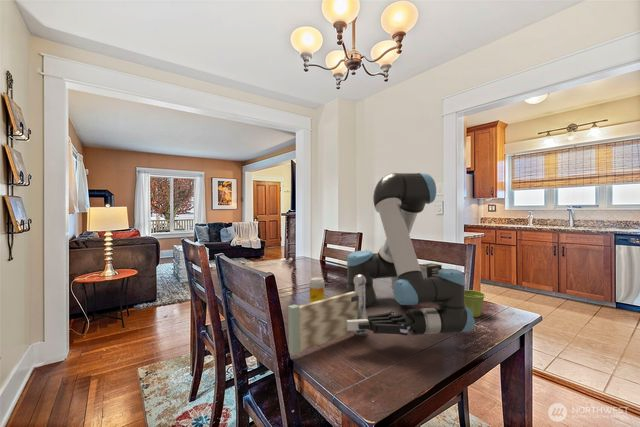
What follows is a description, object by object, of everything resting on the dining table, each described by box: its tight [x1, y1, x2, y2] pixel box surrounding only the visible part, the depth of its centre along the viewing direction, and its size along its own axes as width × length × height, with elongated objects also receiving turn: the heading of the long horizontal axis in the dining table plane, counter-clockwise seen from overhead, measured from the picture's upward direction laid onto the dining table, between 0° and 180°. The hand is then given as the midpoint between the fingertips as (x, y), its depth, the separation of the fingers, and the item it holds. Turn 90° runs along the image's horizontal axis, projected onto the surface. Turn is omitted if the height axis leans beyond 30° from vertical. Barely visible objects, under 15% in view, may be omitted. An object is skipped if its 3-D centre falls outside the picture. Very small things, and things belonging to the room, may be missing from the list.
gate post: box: [353, 274, 368, 337], centre depth 100 cm, size 5×5×21 cm
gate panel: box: [287, 291, 358, 356], centre depth 90 cm, size 26×2×14 cm, turn 127°
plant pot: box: [464, 289, 486, 318], centre depth 115 cm, size 9×9×9 cm
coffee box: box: [419, 262, 443, 278], centre depth 136 cm, size 9×6×16 cm
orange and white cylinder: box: [309, 276, 326, 303], centre depth 117 cm, size 6×6×15 cm
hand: (347, 325), depth 87 cm, fingers closed
